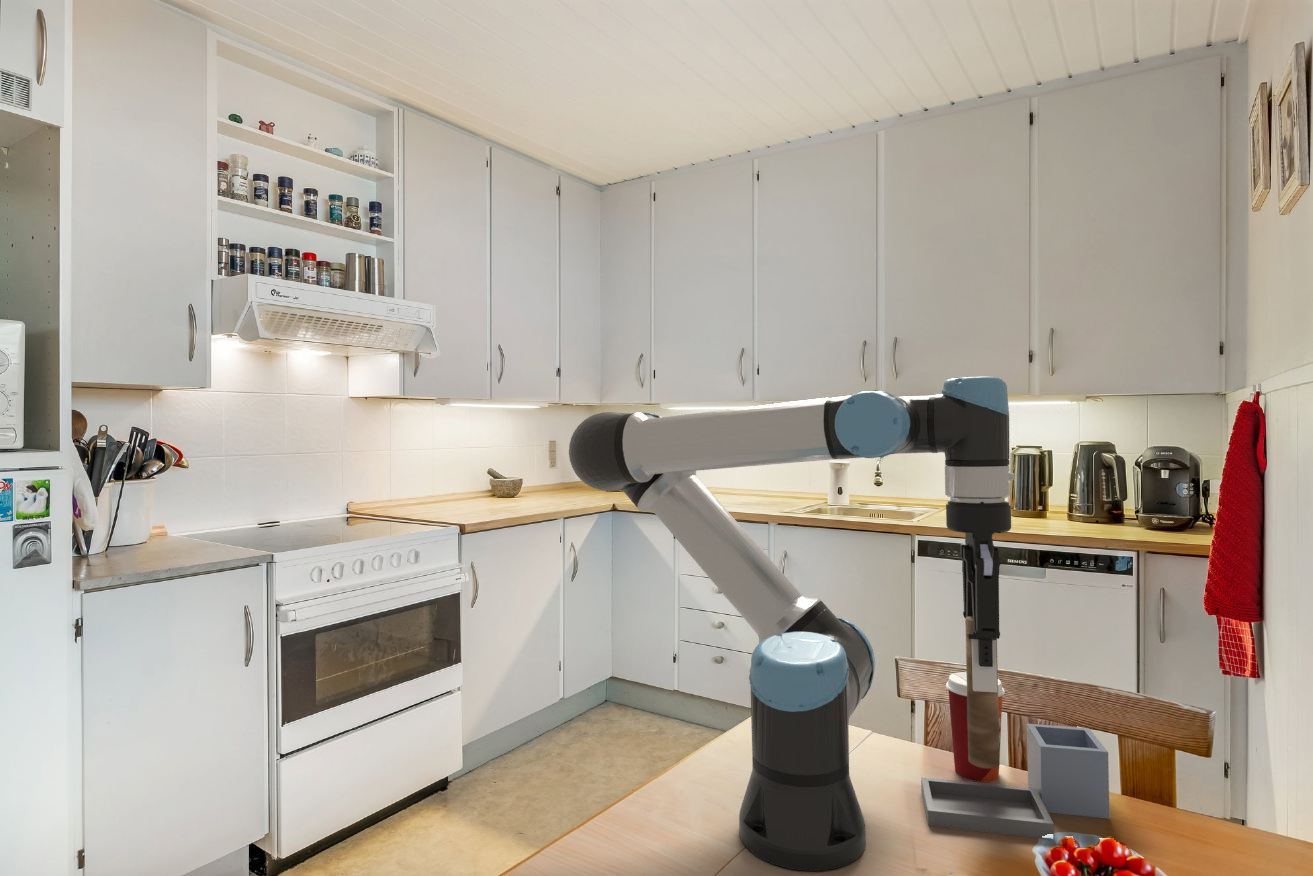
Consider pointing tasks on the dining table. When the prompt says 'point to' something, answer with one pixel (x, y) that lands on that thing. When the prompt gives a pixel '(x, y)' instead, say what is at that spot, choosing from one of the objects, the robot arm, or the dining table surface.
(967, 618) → the dowel
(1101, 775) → the open grey box
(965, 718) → the paper cup
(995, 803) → the tray
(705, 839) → the dining table surface
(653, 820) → the dining table surface
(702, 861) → the dining table surface
